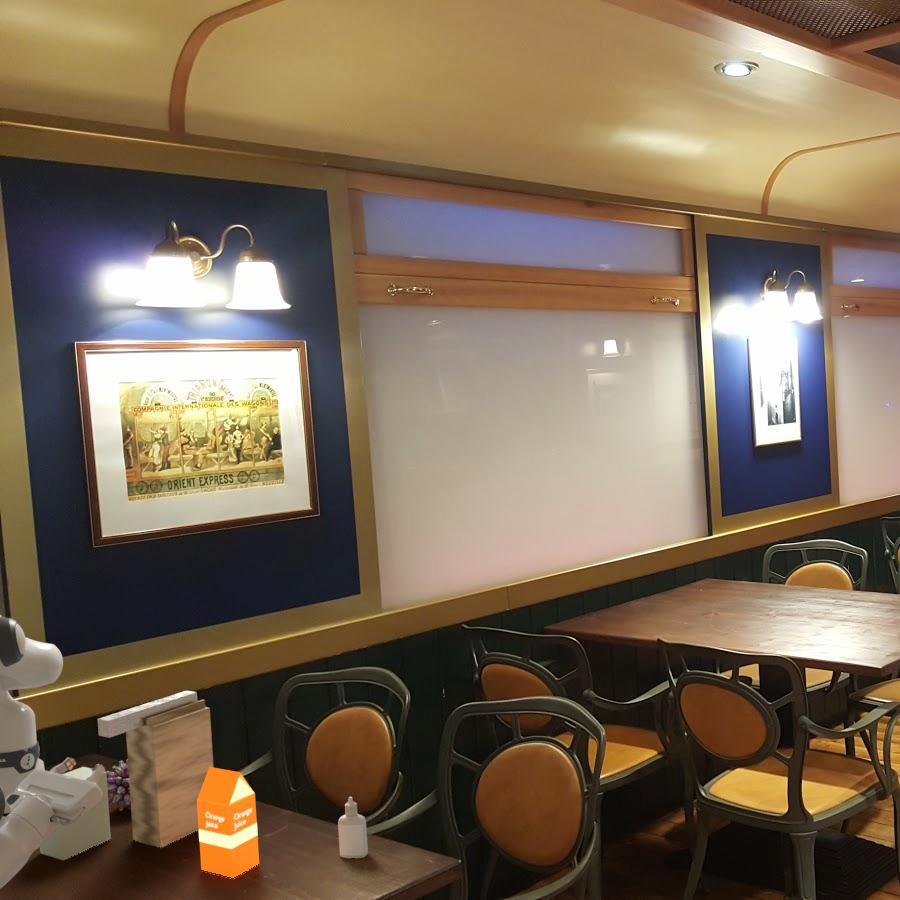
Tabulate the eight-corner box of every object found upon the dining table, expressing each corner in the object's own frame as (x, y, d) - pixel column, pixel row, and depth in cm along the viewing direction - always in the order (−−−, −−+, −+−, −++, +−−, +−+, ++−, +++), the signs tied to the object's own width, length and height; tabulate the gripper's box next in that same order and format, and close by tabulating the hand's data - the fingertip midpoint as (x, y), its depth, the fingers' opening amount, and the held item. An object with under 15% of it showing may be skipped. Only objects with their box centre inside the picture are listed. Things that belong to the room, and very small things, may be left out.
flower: (110, 823, 238) (107, 771, 238) (99, 808, 249) (96, 758, 248) (161, 811, 244) (158, 761, 244) (148, 796, 254) (145, 748, 254)
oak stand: (133, 840, 227) (124, 715, 227) (189, 815, 241) (181, 696, 240) (160, 848, 222) (152, 719, 222) (216, 821, 236) (209, 700, 235)
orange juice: (232, 879, 205) (226, 778, 204) (200, 871, 210) (194, 772, 209) (260, 863, 212) (254, 766, 211) (228, 856, 216) (222, 760, 216)
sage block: (40, 853, 223) (35, 783, 223) (87, 833, 233) (83, 766, 233) (63, 860, 219) (58, 789, 218) (110, 839, 229) (106, 771, 228)
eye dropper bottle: (356, 862, 210) (352, 803, 209) (336, 856, 213) (333, 798, 213) (371, 854, 213) (367, 796, 213) (351, 848, 217) (348, 791, 216)
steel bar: (98, 735, 218) (97, 718, 218) (187, 705, 238) (186, 690, 237) (109, 737, 216) (108, 720, 216) (197, 707, 236) (196, 692, 235)
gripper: (62, 815, 196) (112, 759, 206) (-2, 797, 208) (49, 745, 218) (78, 837, 199) (127, 781, 209) (15, 819, 211) (64, 766, 220)
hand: (86, 763), depth 213 cm, fingers open, 8 cm apart
